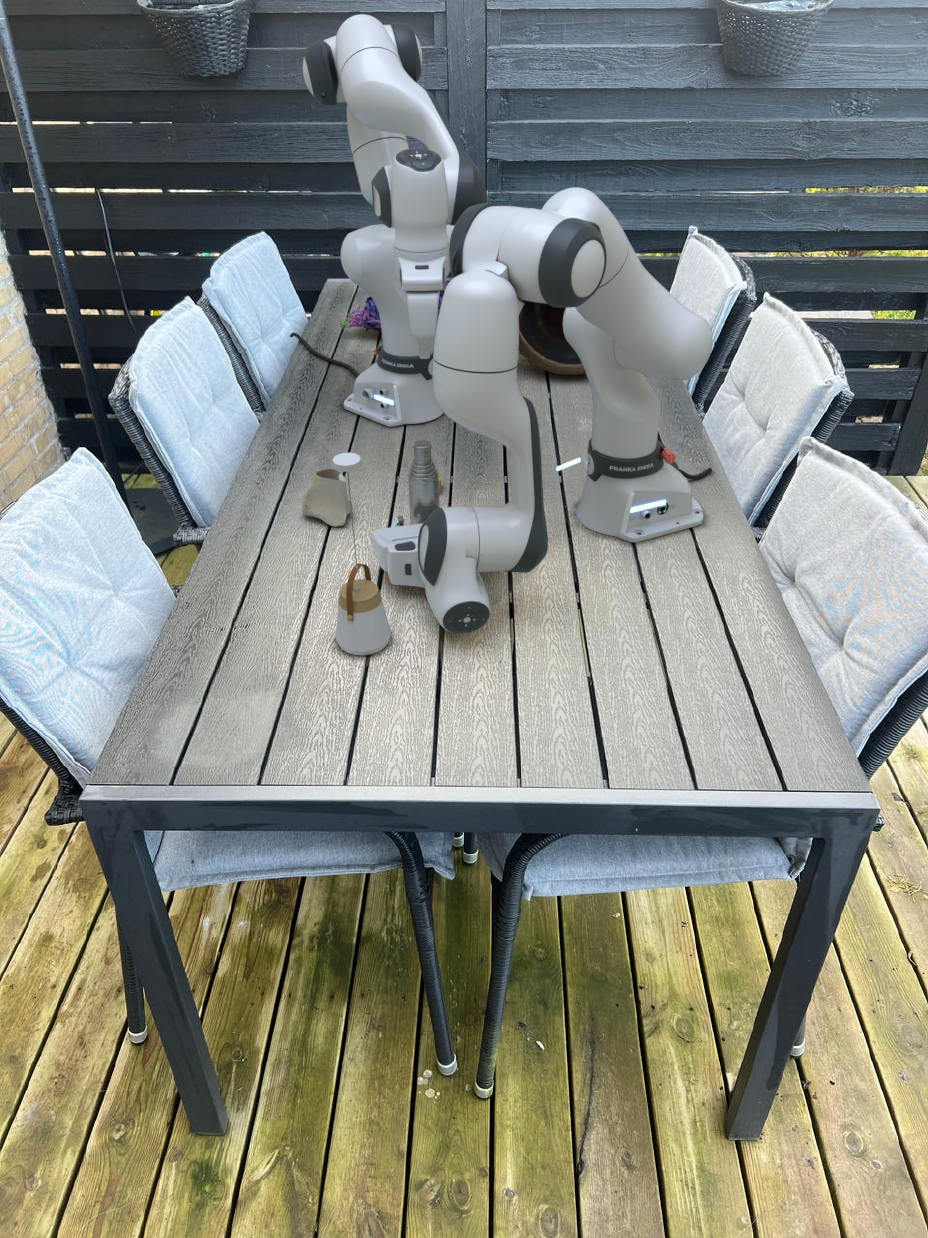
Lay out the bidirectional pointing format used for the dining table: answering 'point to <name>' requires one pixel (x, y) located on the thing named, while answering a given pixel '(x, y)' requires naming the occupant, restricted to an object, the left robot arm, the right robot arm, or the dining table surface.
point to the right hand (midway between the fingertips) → (425, 516)
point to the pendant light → (359, 596)
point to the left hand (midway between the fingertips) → (424, 346)
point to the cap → (439, 484)
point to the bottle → (422, 483)
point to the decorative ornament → (372, 316)
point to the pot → (546, 339)
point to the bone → (327, 498)
